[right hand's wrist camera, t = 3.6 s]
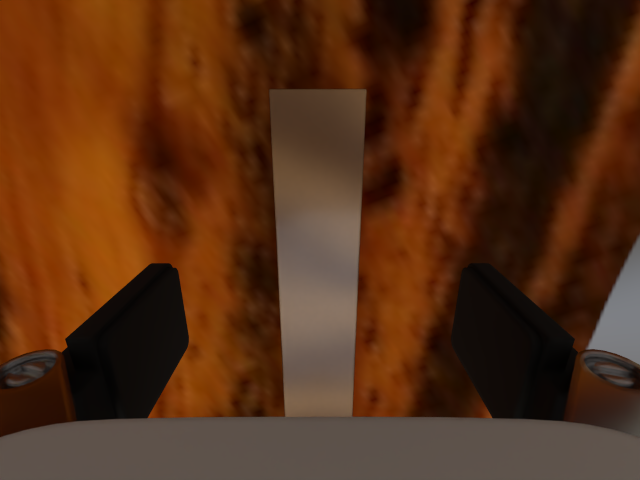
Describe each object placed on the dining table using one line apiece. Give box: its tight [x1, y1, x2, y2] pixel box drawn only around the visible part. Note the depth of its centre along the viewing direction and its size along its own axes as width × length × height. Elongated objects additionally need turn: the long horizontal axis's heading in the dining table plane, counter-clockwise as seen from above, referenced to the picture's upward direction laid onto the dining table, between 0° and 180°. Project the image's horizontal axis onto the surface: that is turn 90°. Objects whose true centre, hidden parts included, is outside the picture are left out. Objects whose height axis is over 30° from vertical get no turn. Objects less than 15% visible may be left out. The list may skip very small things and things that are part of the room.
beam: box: [269, 89, 366, 417], centre depth 29 cm, size 59×4×7 cm, turn 0°
